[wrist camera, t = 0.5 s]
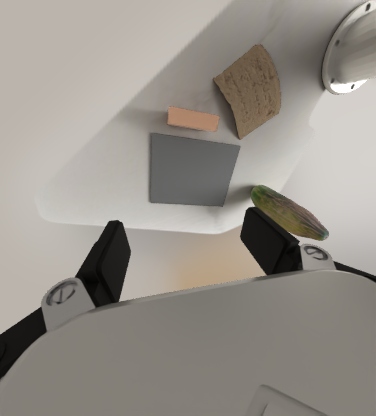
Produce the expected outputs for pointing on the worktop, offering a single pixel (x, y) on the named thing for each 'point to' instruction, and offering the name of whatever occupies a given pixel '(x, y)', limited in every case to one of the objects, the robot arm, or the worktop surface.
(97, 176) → the worktop surface
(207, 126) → the block
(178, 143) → the mat
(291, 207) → the vegetable
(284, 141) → the worktop surface
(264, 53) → the cork arch piece
